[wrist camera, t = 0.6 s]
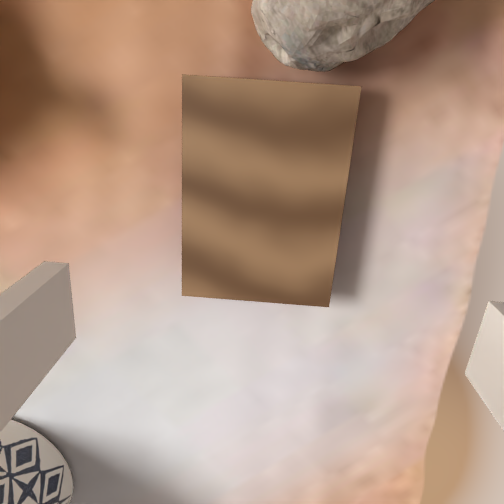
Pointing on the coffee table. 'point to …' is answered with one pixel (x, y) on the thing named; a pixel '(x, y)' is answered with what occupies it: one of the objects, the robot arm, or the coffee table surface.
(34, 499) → the planter
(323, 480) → the coffee table surface
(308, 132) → the stand
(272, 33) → the stone
